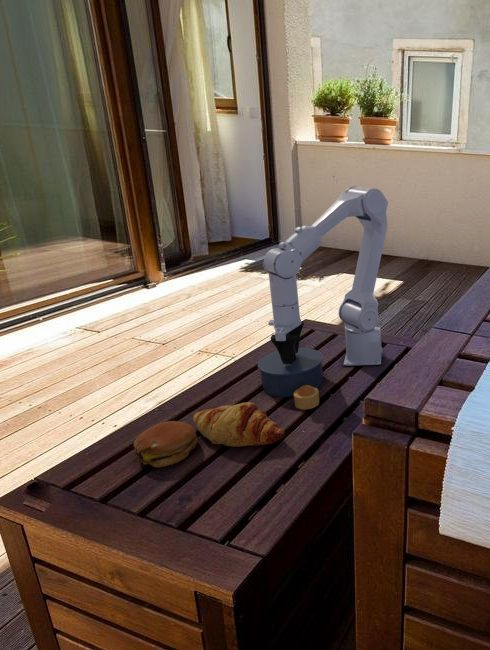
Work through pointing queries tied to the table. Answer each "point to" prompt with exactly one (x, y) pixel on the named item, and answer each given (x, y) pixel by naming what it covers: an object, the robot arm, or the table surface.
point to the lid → (301, 364)
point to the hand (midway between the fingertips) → (290, 358)
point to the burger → (165, 443)
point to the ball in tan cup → (306, 397)
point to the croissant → (237, 425)
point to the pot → (291, 382)
